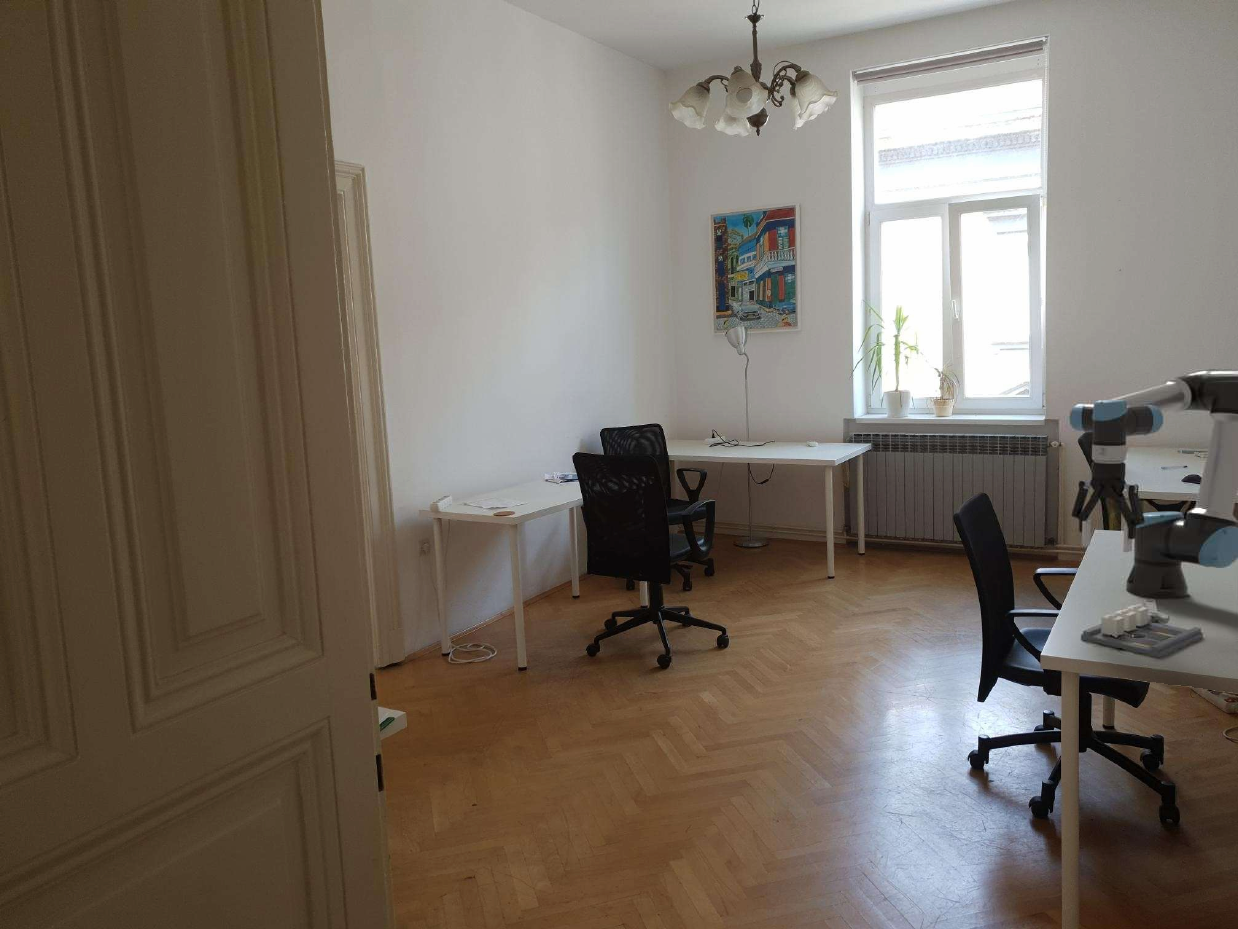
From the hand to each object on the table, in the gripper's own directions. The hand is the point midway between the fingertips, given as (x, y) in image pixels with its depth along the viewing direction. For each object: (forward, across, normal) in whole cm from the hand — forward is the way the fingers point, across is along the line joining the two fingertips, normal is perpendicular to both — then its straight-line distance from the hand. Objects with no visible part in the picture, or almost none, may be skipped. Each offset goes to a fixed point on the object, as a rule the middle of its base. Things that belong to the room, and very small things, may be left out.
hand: (1106, 548), depth 227 cm
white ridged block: (+18, +8, -12) cm, 23 cm away
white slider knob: (+18, +8, -6) cm, 21 cm away
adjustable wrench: (+19, +6, +14) cm, 24 cm away
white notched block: (+18, +8, 0) cm, 20 cm away
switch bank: (+20, +12, -6) cm, 24 cm away
